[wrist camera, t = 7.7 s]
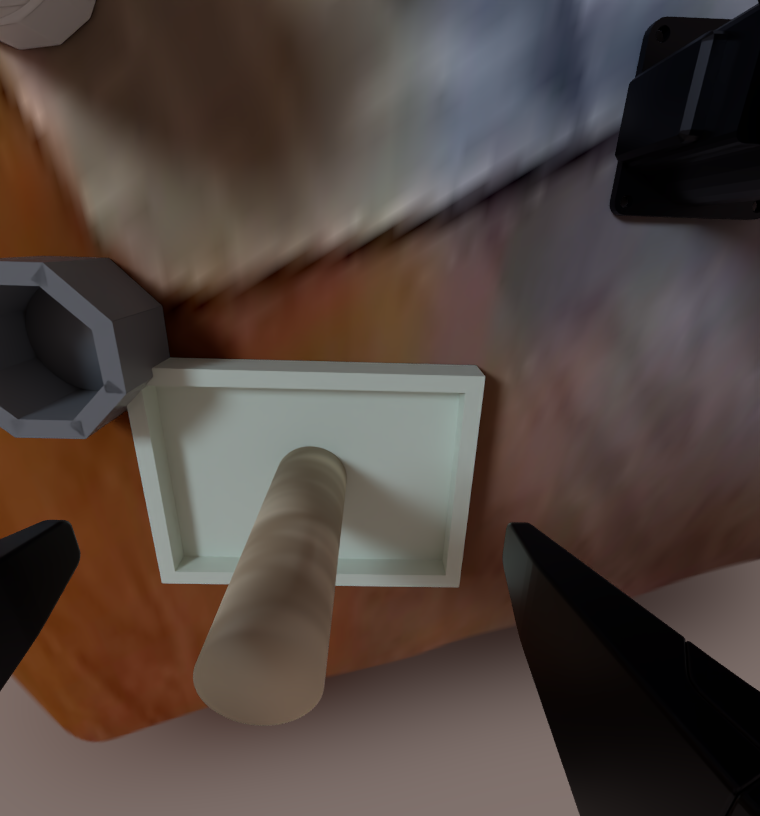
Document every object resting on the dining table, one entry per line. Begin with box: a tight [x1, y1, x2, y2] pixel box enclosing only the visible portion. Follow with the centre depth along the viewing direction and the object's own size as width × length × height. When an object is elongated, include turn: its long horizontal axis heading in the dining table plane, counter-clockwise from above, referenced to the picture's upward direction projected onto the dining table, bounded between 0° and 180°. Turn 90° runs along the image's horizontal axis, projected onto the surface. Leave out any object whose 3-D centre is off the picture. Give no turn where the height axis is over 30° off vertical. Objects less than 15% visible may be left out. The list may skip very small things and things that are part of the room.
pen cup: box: [0, 256, 170, 439], centre depth 18 cm, size 7×7×4 cm
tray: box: [127, 357, 485, 587], centre depth 22 cm, size 16×12×2 cm
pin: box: [193, 446, 347, 726], centre depth 17 cm, size 4×4×11 cm
